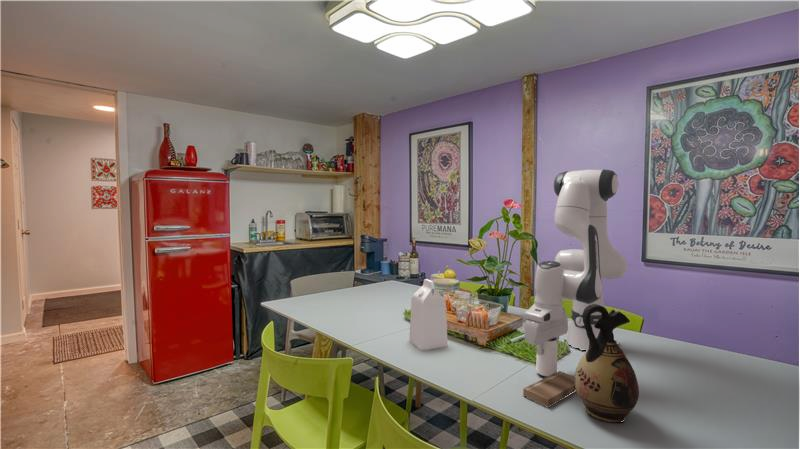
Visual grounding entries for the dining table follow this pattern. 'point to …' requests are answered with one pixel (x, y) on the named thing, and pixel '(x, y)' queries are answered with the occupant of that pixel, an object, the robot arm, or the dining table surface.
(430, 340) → the milk
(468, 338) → the ammunition clip
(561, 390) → the plank
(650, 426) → the dining table surface
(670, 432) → the dining table surface
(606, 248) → the robot arm
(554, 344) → the can
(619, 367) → the ceramic jug
